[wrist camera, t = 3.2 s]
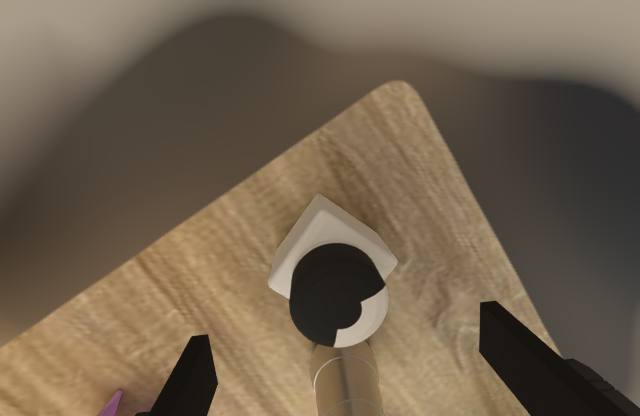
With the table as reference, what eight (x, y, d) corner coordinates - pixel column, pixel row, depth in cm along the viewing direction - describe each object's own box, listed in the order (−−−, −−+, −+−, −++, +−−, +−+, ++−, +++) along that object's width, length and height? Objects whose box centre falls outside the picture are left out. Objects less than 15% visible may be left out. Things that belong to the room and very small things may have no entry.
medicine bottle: (274, 252, 30) (254, 325, 18) (317, 191, 29) (326, 228, 17) (334, 290, 31) (353, 382, 20) (378, 233, 30) (425, 294, 19)
